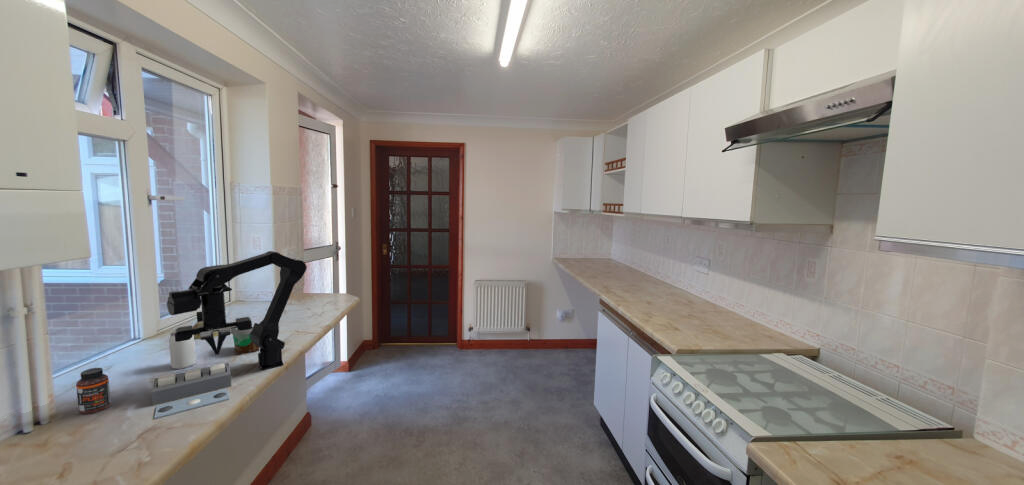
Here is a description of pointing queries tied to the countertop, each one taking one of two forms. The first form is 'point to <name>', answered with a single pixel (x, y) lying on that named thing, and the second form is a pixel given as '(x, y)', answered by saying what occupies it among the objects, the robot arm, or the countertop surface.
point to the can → (182, 352)
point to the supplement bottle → (93, 391)
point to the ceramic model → (200, 324)
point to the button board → (190, 385)
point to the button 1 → (166, 380)
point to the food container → (243, 341)
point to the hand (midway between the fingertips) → (217, 354)
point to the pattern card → (191, 403)
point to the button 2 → (217, 368)
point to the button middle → (193, 374)
